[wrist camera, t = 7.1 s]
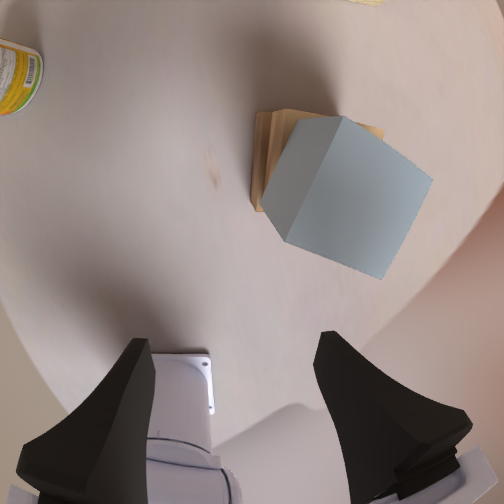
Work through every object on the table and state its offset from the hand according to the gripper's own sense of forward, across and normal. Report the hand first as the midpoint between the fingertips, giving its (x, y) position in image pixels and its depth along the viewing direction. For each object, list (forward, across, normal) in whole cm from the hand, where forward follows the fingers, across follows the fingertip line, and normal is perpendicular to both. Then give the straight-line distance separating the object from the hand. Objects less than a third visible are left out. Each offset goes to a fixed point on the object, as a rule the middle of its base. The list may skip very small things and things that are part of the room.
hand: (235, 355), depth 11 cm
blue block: (+5, -4, -6) cm, 9 cm away
